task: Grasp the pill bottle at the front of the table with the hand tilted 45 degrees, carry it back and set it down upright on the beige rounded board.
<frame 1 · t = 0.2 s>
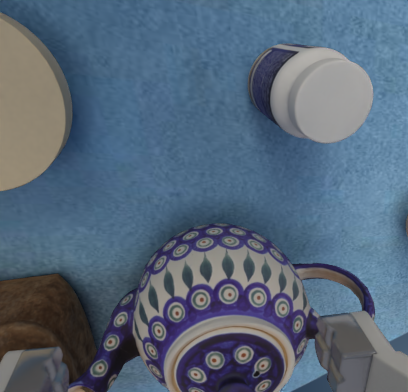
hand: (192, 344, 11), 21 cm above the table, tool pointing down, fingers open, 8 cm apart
pill bottle: (279, 80, 29), on the table
teapot: (210, 268, 36), on the table
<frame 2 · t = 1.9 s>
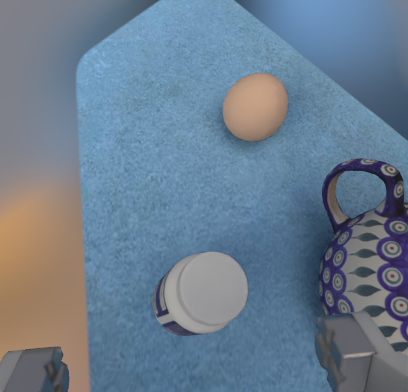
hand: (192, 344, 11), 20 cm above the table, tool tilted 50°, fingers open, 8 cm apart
egg: (241, 128, 41), on the table
pill bottle: (182, 301, 32), on the table
teapot: (362, 295, 37), on the table
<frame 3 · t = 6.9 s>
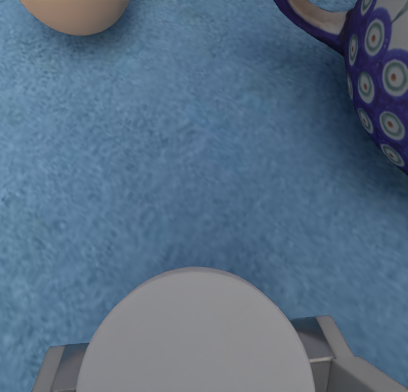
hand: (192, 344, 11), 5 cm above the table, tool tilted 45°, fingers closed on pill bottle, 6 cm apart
egg: (91, 22, 22), on the table
pill bottle: (196, 350, 16), on the table, touching gripper
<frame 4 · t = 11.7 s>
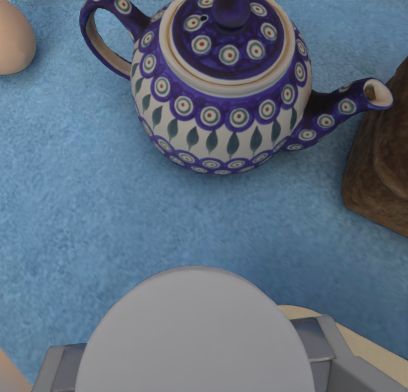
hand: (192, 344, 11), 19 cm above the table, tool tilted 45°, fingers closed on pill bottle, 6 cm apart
egg: (16, 64, 37), on the table
pill bottle: (196, 349, 16), point 14 cm above the table, touching gripper
teapot: (216, 123, 36), on the table
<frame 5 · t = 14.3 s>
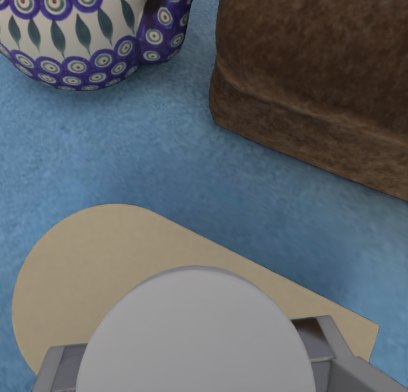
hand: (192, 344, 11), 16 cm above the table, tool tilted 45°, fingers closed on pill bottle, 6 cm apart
pill bottle: (196, 349, 16), point 10 cm above the table, touching gripper
bread: (379, 125, 32), on the table
beige rounded board: (194, 336, 26), on the table
teapot: (94, 49, 35), on the table
when the fingers open (10 cm above the table, at t = 16.5 s): pill bottle stays where it is, resting on beige rounded board.
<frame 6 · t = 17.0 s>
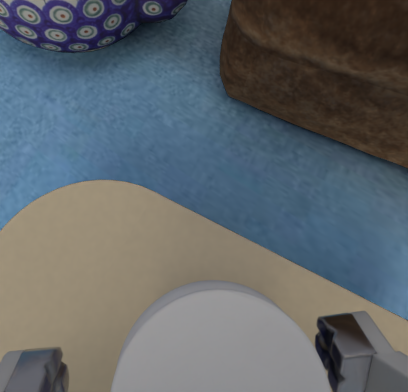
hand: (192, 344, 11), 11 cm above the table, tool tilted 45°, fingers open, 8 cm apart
pill bottle: (207, 356, 17), point 5 cm above the table, touching beige rounded board
beige rounded board: (199, 345, 21), on the table
teapot: (86, 9, 30), on the table
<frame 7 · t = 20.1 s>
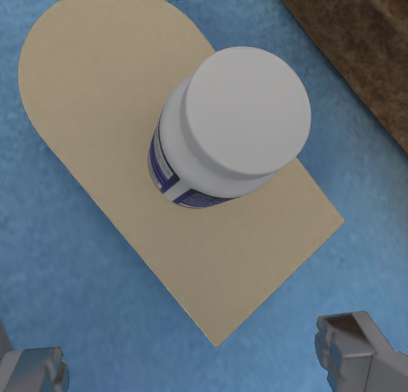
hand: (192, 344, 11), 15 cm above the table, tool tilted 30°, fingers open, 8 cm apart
pill bottle: (191, 163, 22), point 5 cm above the table, touching beige rounded board
beige rounded board: (175, 171, 27), on the table
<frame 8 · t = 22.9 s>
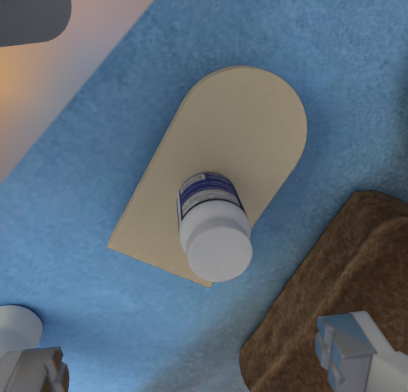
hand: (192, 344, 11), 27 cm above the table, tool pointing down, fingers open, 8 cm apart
water bottle: (15, 322, 45), on the table
pill bottle: (206, 194, 34), point 5 cm above the table, touching beige rounded board
bread: (329, 291, 47), on the table
beige rounded board: (203, 172, 38), on the table
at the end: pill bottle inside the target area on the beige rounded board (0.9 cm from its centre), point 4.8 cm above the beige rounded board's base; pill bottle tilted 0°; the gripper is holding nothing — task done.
